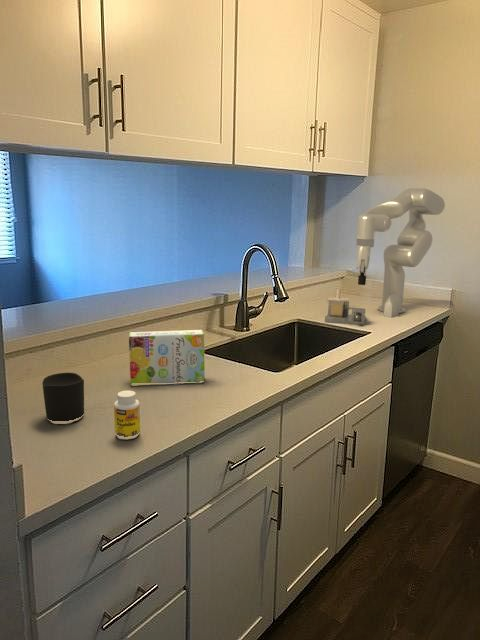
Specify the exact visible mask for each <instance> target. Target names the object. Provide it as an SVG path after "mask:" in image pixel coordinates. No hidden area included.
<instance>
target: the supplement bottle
mask: <svg viewBox="0 0 480 640" xmlns="http://www.w3.org/2000/svg"><path fill="white" fill-rule="evenodd" d="M136 398H137V396H136V392H135V391H133V390H122V391H119V392H117V400H116V401H115V402H114V404H113V408H114V434H115V433H116V434H117V435H119V436H124V437H128V436H134V435H136V434H138V433H139V432H140V433H141V419H140V418H141V417H140V416H141V415H140V413H141V412H140V409H141V408H140V402H139V401H140V400H138V399H136Z"/></svg>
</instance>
